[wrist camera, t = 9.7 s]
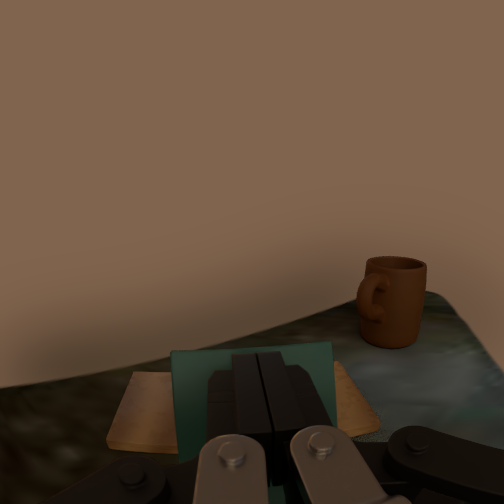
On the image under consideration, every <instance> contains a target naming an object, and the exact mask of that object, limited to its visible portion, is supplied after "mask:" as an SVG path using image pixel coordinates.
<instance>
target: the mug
mask: <svg viewBox="0 0 504 504" xmlns="http://www.w3.org/2000/svg"><path fill="white" fill-rule="evenodd" d="M426 273H427V266H426V264H425V263H424V262H422V261H419V260H416V259H412V258H406V257H394V256H382V257H374V258H370V259H368V260H367V262H366V270H365V277H364V279H363V280H362V282H361V283H360V286H359V288H358V292H357V298H356V305H357V311H358V313H359V315H360V316H361V325H360V332H361V335H362V337H363V339H364V340H366V341H367V342H368V343H370V344H372V345H375V346H378V347H382V348H389V349H396V348H403V347H406V346H409V345H411V344H412V343H413V342H414V341H415V340H416V338H417V336H418V333H419V328H420V322H421V316H422V310H423V304H424V297H425V289H426Z"/></svg>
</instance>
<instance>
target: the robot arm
mask: <svg viewBox="0 0 504 504" xmlns="http://www.w3.org/2000/svg"><path fill="white" fill-rule="evenodd" d="M231 355H232V370H215V371H214V373H213V374H212V375H211V377H210V378H209V379H208V391H207V392H208V394H207V423H206V443H205V445H204V446H203V447H202V449H201V451H200V453H199V454H197V455H196V456H195V457H193V458H192V459H190V460H187V461H185V462H182V463H178V464H173V465H168V466H163V467H162V466H161V465H160V464H159V463H158V462H157V461H155V460H154V459H152V458H149V457H147V456H143V455H126V456H122V457H119V458H116V459H115V460H113V461H111V462H110V463H108V464H106V465H105V466H103V467H102V468H100V469H98V470H97V471H95V472H93V473H92V474H90V475H88V476H87V477H85V478H83V479H82V480H80V481H78V482H76V483H75V484H73V485H71V486H69V487H68V488H66V489H64V490H62V491H61V492H59V493H57V494H55V495H53V496H51V497H50V498H48V499H46V500H44V501H42V502H40V503H38V504H269V500H268V487H270V483H271V480H272V485H273V486H282V485H283V490H284V494H285V501H284V504H504V450H501V449H497V448H493V447H490V446H486V445H482V444H478V443H475V442H471V441H468V440H464V439H461V438H458V437H454V436H451V435H448V434H445V433H442V432H438V431H435V430H432V429H429V428H426V427H422V426H407V427H404V428H401V429H399V430H397V431H396V432H394V433H393V434H392V435H391V437H390V439H389V441H388V442H357V441H353V440H351V438H350V437H349V436H348V435H347V434H346V433H345V432H344V431H342V430H340V429H338V428H335V427H334V426H333V424H332V422H331V420H330V417H329V415H328V413H327V411H326V409H325V407H324V405H323V402H322V400H321V398H320V396H319V394H318V393H317V390H316V387H315V385H314V384H313V381H312V379H311V377H310V375H309V373H308V372H307V371H306V370H305V369H303V368H302V367H301V366H299V365H298V364H296V365H286V366H285V363H284V360H283V357H282V354H281V352H280V351H269V352H257V353H256V355H255V353H240V354H231ZM424 488H425V489H424ZM427 489H428V490H427ZM430 490H431V491H430ZM433 491H434V492H433ZM436 492H437V493H436ZM439 493H440V494H439ZM442 494H443V495H442ZM445 495H446V496H445ZM448 496H449V497H448ZM451 497H452V498H451ZM454 498H456V499H454Z"/></svg>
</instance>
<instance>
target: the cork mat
mask: <svg viewBox="0 0 504 504" xmlns="http://www.w3.org/2000/svg"><path fill="white" fill-rule="evenodd" d="M334 374H335V388H336V404H337V424H338V429H340V430H342V431H344V432H345V433H346V434H347V435H348V436H349V437H354V436H359V435H363V434H367V433H371V432H375V431H378V430H379V426H380V420H379V419H378V417H377V416H376V414H375V413H374V411H373V410H372V409H371V407H370V406H369V404H368V403H367V401H366V400H365V398H364V397H363V396H362V394H361V393H360V391H359V390H358V388H357V387H356V385H355V384H354V383H353V381H352V380H351V378H350V377H349V375H348V374H347V373H346V371H345V370H344V368H343V367H342V365H341V364H340V362H339V361H334ZM106 441H107V444H108V446H109V448H110V449H116V450H125V451H135V452H148V453H166V454H178V448H177V439H176V428H175V418H174V406H173V392H172V377H171V372H134V373H133V375H132V377H131V380H130V382H129V384H128V387H127V389H126V391H125V394H124V396H123V399H122V401H121V403H120V406H119V408H118V411H117V413H116V416H115V418H114V421H113V423H112V426H111V428H110V431H109V433H108V436H107V438H106Z"/></svg>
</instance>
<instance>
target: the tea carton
mask: <svg viewBox="0 0 504 504" xmlns="http://www.w3.org/2000/svg"><path fill="white" fill-rule="evenodd" d="M269 351H280V352H281V354H282V357H283V360H284V363H285V366H286V365H296V364H298V365H299V366H301V367H302V368H303V369H305V370H306V371H307V372H308V373H309V375H310V377H311V379H312V381H313V384H314V385H315V387H316V390H317V393H318V394H319V396H320V398H321V400H322V402H323V405H324V407H325V409H326V411H327V413H328V415H329V417H330V420H331V422H332V424H333V426H334V427H335V428H338V424H337V404H336V388H335V374H334V361H333V350H332V342H331V341H323V342H314V343H304V344H294V345H283V346H270V347H256V348H239V349H218V350H184V351H183V350H182V351H181V350H179V351H171V352H170V358H171V377H172V392H173V406H174V418H175V428H176V439H177V448H178V457H179V463H182V462H185V461H187V460H190V459H192V458H193V457H195V456H196V455H197V454H199V453H200V451H201V449H202V447H203V446H204V445H205V443H206V423H207V394H208V392H207V391H208V379H209V378H210V377H211V375H212V374H213V373H214V371H215V370H232V355H231V354H240V353H255V355H256V353H257V352H269ZM268 500H269V504H284V501H285V494H284V490H283V485H282V486H273V485H272V480H271V483H270V487H268Z"/></svg>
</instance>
